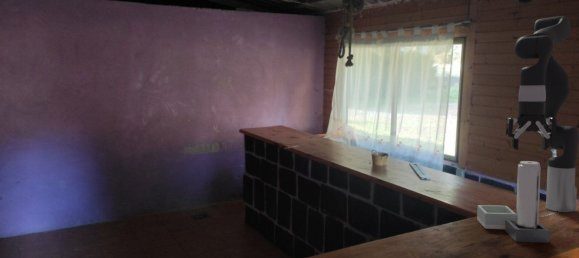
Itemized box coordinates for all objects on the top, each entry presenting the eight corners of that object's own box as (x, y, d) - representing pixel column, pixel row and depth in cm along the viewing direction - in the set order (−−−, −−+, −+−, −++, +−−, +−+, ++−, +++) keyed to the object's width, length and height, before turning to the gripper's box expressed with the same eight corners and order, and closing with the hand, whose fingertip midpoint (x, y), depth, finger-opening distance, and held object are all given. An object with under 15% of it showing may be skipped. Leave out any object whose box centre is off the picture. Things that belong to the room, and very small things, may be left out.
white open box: (506, 220, 160) (506, 205, 160) (515, 229, 150) (516, 214, 150) (477, 219, 162) (477, 205, 161) (484, 228, 152) (485, 213, 151)
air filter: (532, 233, 146) (535, 160, 144) (541, 240, 140) (544, 164, 137) (512, 233, 147) (514, 160, 144) (520, 240, 141) (523, 164, 138)
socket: (536, 231, 148) (537, 220, 147) (549, 242, 138) (549, 230, 137) (505, 231, 149) (505, 219, 149) (515, 241, 139) (516, 229, 139)
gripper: (550, 99, 141) (548, 148, 143) (504, 99, 143) (502, 148, 145) (561, 100, 134) (558, 151, 136) (512, 100, 136) (510, 151, 138)
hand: (529, 149), depth 140 cm, fingers open, 8 cm apart
